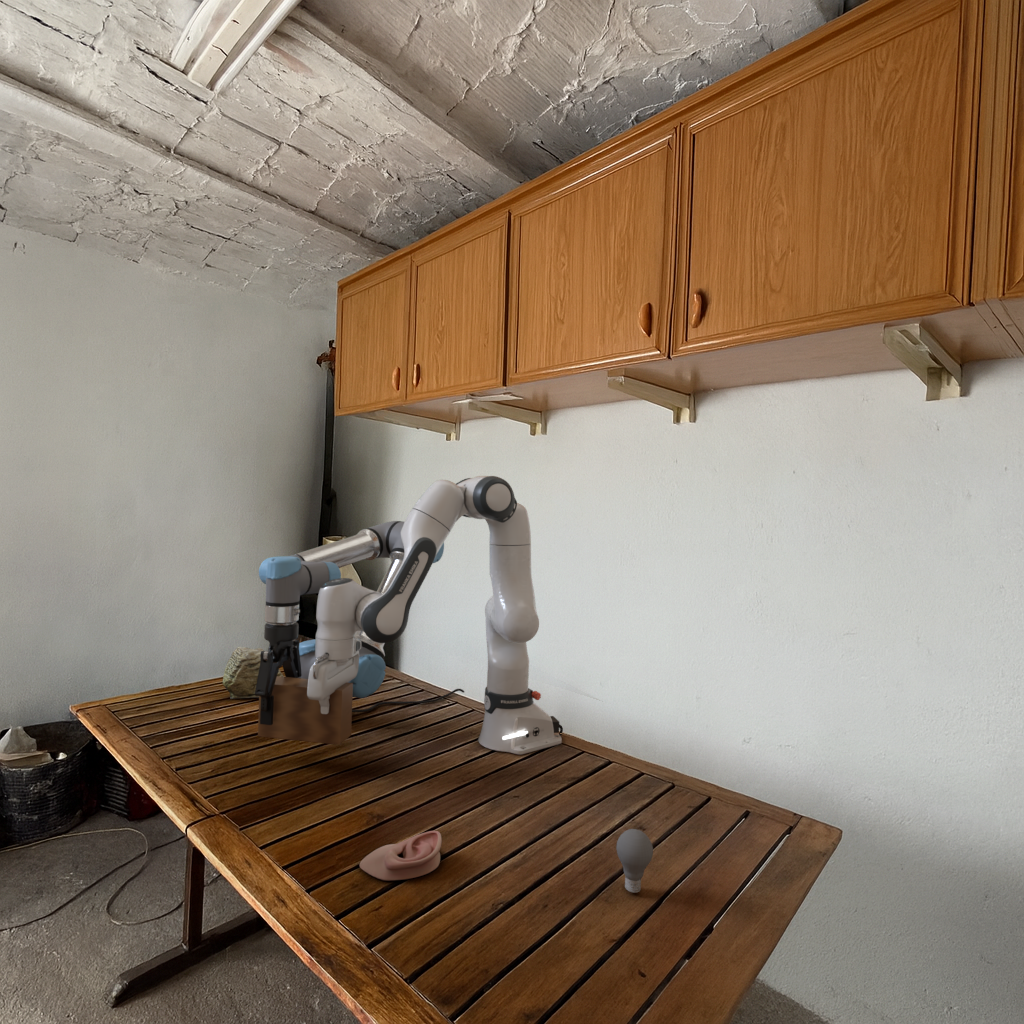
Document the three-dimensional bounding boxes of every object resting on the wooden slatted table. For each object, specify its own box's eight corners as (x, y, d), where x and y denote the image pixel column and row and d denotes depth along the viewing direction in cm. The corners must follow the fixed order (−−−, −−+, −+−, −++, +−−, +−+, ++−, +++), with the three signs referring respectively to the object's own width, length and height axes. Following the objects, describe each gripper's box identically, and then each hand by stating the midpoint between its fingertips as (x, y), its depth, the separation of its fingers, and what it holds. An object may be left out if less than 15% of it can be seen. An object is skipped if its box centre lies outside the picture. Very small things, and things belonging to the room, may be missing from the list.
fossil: (218, 695, 195) (220, 647, 195) (278, 685, 208) (279, 640, 207) (228, 703, 189) (230, 653, 188) (289, 692, 201) (290, 645, 201)
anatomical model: (352, 851, 106) (379, 818, 118) (351, 875, 106) (379, 839, 118) (427, 864, 104) (448, 829, 115) (426, 888, 104) (447, 850, 115)
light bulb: (610, 879, 108) (613, 822, 108) (644, 879, 109) (647, 822, 109) (619, 902, 102) (622, 840, 102) (655, 901, 103) (658, 840, 103)
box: (257, 736, 147) (259, 683, 147) (271, 727, 153) (273, 675, 153) (340, 745, 144) (342, 690, 144) (351, 735, 150) (353, 682, 150)
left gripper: (271, 633, 137) (267, 735, 138) (318, 615, 160) (315, 703, 160) (239, 630, 139) (235, 731, 139) (290, 613, 161) (287, 700, 161)
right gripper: (328, 660, 136) (326, 724, 137) (364, 640, 157) (362, 695, 157) (300, 658, 137) (298, 721, 138) (340, 638, 158) (338, 693, 158)
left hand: (278, 716), depth 149 cm, fingers open, 10 cm apart
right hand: (332, 707), depth 147 cm, fingers closed on box, 6 cm apart
